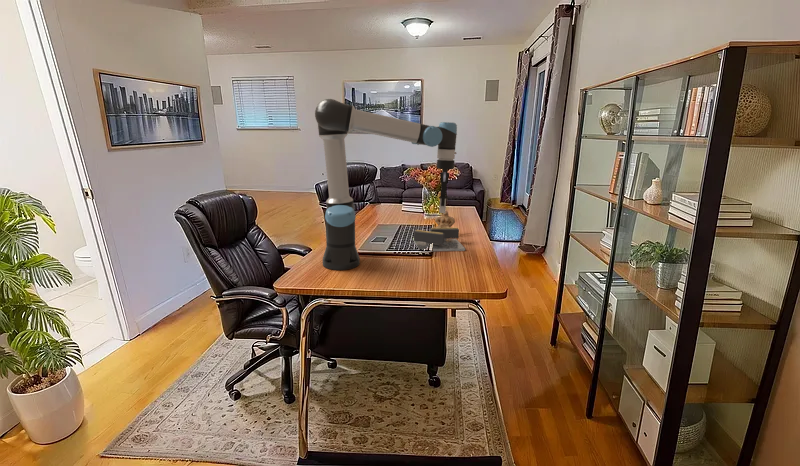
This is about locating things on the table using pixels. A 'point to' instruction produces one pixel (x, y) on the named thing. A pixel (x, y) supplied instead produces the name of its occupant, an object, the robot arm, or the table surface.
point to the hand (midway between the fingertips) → (442, 212)
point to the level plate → (442, 245)
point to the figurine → (444, 221)
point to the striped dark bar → (429, 237)
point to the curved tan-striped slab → (447, 232)
